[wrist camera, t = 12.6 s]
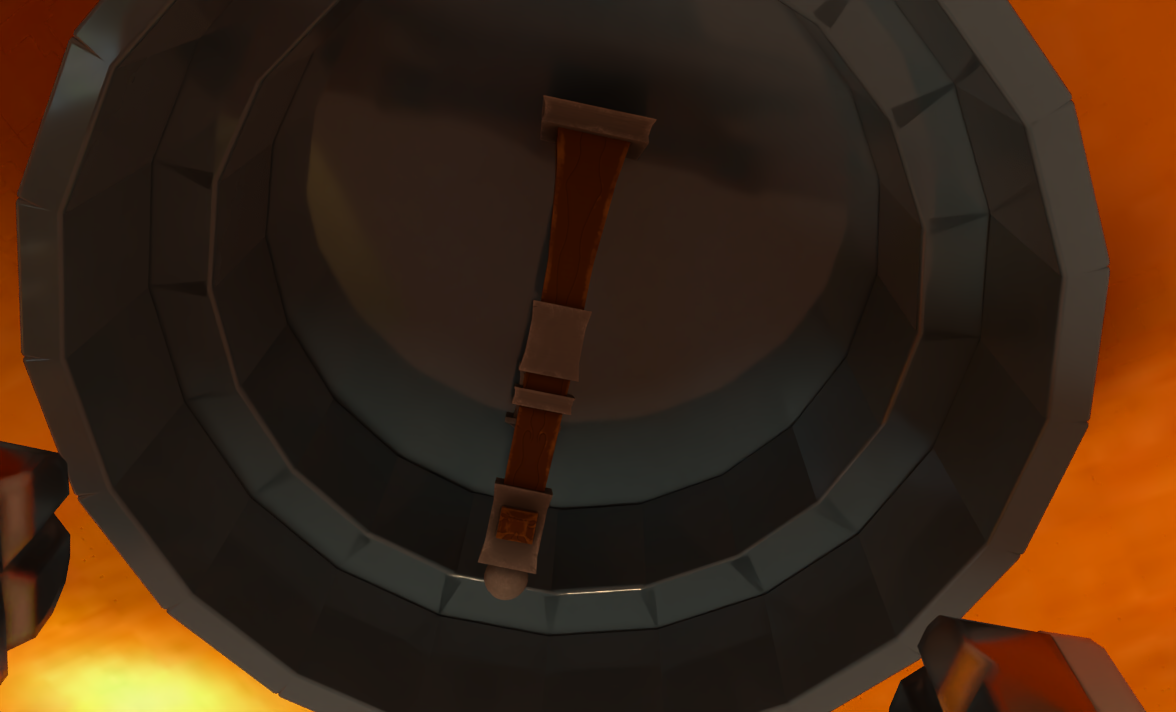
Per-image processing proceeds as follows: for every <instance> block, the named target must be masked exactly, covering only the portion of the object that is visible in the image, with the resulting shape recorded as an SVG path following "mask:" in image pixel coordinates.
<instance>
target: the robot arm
mask: <svg viewBox="0 0 1176 712" xmlns="http://www.w3.org/2000/svg"><path fill="white" fill-rule="evenodd" d="M68 495H69V481H68V464H67V462H66V461H65V460H64V459H63V458H62V457H61V455H60V454H59V453H56V452H51V451H46V450H42V449H37V448H32V447H27V446H22V445H17V444H12V443H7V442H2V441H0V685H1V683H2V682H3V681H4V679H5V678H6V677H7V675H8V665H7V651H8V650H10V649H12V648H14V647H16V646H18V645H21V644H23V643H25V642H27V641H29V640H31V639H33V638H35V637H36V636H37V635H38V633H39V632H40V630H41V629H42V627H43V626H44V625H45V623H46V622H47V620H48V619H49V617H50V616H51V615H52V613H53V611H54V608H55V606H56V604H57V601H58V599H59V596H60V594H61V592H62V589H63V587H64V584H65V582H66V576H67V571H68V565H69V560H70V534H69V533H68V531H67V530H66V529H65V527H64V526H63V525H62V523H61V522H60V521H59V519H58V518H57V517H56V516H55V514H54V512H55V510H56V509H57V508H58V507H59V506H60V504H61V503H62V502H63V501H64V500H65V498H66V497H67V496H68ZM917 647H918V650H919V653H920V655H921V658H922V661H923V664H924V666H923V667H922V668H920V669H918V670H917V671H915V672H914V673H912V674H910V675H909V676H907V677H906V678H904V679H902V680H901V681H900V683H899V686H898V688H897V691H896V693H895V695H894V698H893V700H892V702H891V705H890V707H889V712H1146V711H1145V710H1144V708H1143V707H1142V705H1141V704H1140V702H1139V701H1138V699H1137V698H1136V696H1135V695H1134V693H1133V692H1132V690H1131V689H1130V687H1129V686H1128V684H1127V682H1126V681H1125V679H1124V678H1123V676H1122V675H1121V673H1120V672H1119V670H1118V669H1117V667H1116V666H1115V664H1114V663H1113V661H1112V660H1111V658H1110V657H1109V655H1108V654H1107V652H1106V651H1105V649H1104V648H1103V647H1101V646H1100V645H1098V644H1097V643H1096V642H1094V641H1093V640H1091V639H1090V638H1084V637H1077V636H1071V635H1064V634H1058V633H1051V632H1045V631H1038V632H1034V631H1028V630H1022V629H1017V628H1011V627H1005V626H1000V625H994V624H988V623H983V622H977V621H971V620H966V619H960V618H954V617H949V616H943V615H938V616H937V617H936V618H935V619H934V620H933V621H932V622H931V623H930V624H929V625H928V626H927V627H926V629H925V631H924V633H923V635H922V637H921V639H920V641H919V643H918V645H917Z"/></svg>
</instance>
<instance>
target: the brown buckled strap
mask: <svg viewBox="0 0 1176 712" xmlns="http://www.w3.org/2000/svg"><path fill="white" fill-rule="evenodd" d="M656 120H657V119H653V118H648V117H643V116H639V115H634V114H629V113H625V112H620V111H615V110H611V109H606V108H601V107H597V106H592V105H587V104H583V103H578V102H573V101H569V100H564V99H559V98H555V97H550V96H545V95H543V107H542V120H541V133H540V140H543V141H548V142H552V143H556V151H555V186H554V197H553V208H552V218H551V229H550V240H549V250H548V261H547V267H546V272H545V278H544V284H543V290H542V296H541V301H536V300H533V310H532V321H531V326H530V330H529V335H528V340H527V344H526V349H525V352H524V355H523V358H522V360H521V362H519V367H518V368H519V370H520V384H515V395H514V397H513V400H512V404H516V408H515V411H514V413H512V412H507V413H506V417H505V422H506V423H508V424H510V425H511V426H512V427H514V428H515V429H514V434H513V439H512V444H511V449H510V455H509V460H508V464H507V469H506V474H505V478H498V477H497V478H496V481H495V487H494V501H493V505H492V510H491V515H490V519H489V524H488V529H487V533H486V538H485V542H484V544H483V547H482V550H481V552H480V556H479V559H478V562H479V563H484V564H489V565H488V566H487V568H486V570H485V573H484V582H485V586H486V588H487V590H488V591H489V592H490V593H491V594H492V596H494V597H496V598H497V599H500V600H511V599H514V598H516V597H517V596H519V595H520V594H521V593H522V592H523V591H524V589H525V588H526V585H527V582H528V573H533V574H536V568H537V555H538V551H539V546H540V541H541V537H542V532H543V527H544V523H545V518H546V513H547V509H548V507H549V504H550V502H551V499H552V496H553V493H552V489H551V488H546V483H547V479H548V475H549V470H550V466H551V462H552V458H553V453H554V449H555V445H556V441H557V436H558V432H560V430H561V426H560V423H561V419H562V415H563V414H567V415H571V407H572V404H573V401H574V400H575V397H574V396H573V395H571V394H567V393H568V389H569V384H570V380H572V381H577V382H579V361H580V356H581V351H582V346H583V340H584V335H585V330H586V327H587V324H588V321H589V319H590V316H591V313H592V312H591V311H586V310H584V308H585V303H586V298H587V293H588V288H589V283H590V278H591V273H592V268H593V264H594V261H595V257H596V254H597V250H598V246H599V243H600V239H601V236H602V232H603V229H604V225H605V221H606V218H607V214H608V211H609V207H610V203H611V200H612V196H613V193H614V189H615V185H616V182H617V180H618V177H619V174H620V171H621V168H622V165H623V163H624V160H625V158H628V159H633V160H638V158H639V157H640V155H641V154H642V152H643V151H644V149H645V148H646V147H647V145H648V144H649V134H650V130H651V128H652V126H653V125H654V123H655V122H656Z"/></svg>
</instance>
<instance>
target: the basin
mask: <svg viewBox="0 0 1176 712" xmlns="http://www.w3.org/2000/svg"><path fill="white" fill-rule="evenodd" d="M73 35H74V36H72V37H71V38H70V39H69V41H68V44H67V47H66V50H65V53H64V56H63V59H62V62H61V65H60V68H59V71H58V74H57V77H56V80H55V83H54V86H53V89H52V92H51V95H50V98H49V101H48V104H47V107H46V110H45V112H44V115H43V118H42V121H41V124H40V127H39V130H38V133H37V136H36V139H35V142H34V145H33V148H32V151H31V154H30V157H29V160H28V163H27V166H26V169H25V172H24V175H23V178H22V181H21V184H20V187H19V190H18V193H17V196H18V197H19V198H18V199H17V201H16V221H17V249H18V276H19V303H20V330H21V353H22V355H23V356H24V358H23V362H24V364H25V367H26V370H27V372H28V375H29V377H30V380H31V383H32V385H33V388H34V390H35V393H36V396H37V398H38V401H39V403H40V406H41V409H42V411H43V414H44V416H45V419H46V422H47V424H48V427H49V429H50V432H51V435H52V437H53V440H54V442H55V445H56V448H57V450H58V453H59V454H60V455H61V457H62V458H63V459H64V460H65V461H66V462H67V464H68V479H69V481H70V484H71V487H72V489H73V492H74V494H75V495H77V496H78V501H79V502H80V503H81V505H82V506H83V507H84V509H85V510H86V511H87V512H88V514H89V515H90V516H91V518H92V519H93V520H94V521H95V523H96V524H97V525H98V527H99V528H100V529H101V530H102V532H103V533H104V534H105V536H106V537H107V538H108V539H109V541H110V542H111V543H112V544H113V546H114V547H115V548H116V550H117V551H118V552H119V553H120V555H121V556H122V557H123V559H124V560H125V561H126V562H127V564H128V565H129V566H130V568H131V569H132V570H133V571H134V573H135V574H136V575H137V577H138V578H139V579H140V580H141V582H142V583H143V584H144V586H145V587H146V588H147V589H148V591H149V592H150V593H151V594H152V596H153V597H154V598H155V600H156V601H157V602H158V603H159V605H160V606H161V607H162V608H163V609H167V613H168V614H169V615H170V616H172V617H173V618H174V619H176V620H177V621H178V622H180V623H181V624H182V625H184V626H185V627H186V628H188V629H189V630H190V631H192V632H193V633H194V634H196V635H197V636H198V637H200V638H201V639H202V640H204V641H205V642H206V643H208V644H209V645H210V646H212V647H213V648H214V649H216V650H217V651H218V652H220V653H221V654H222V655H224V656H225V657H226V658H228V659H229V660H230V661H232V662H233V663H234V664H236V665H237V666H238V667H240V668H241V669H242V670H244V671H245V672H246V673H248V674H249V675H250V676H252V677H253V678H254V679H256V680H257V681H258V682H260V683H261V684H262V685H263V686H265V687H266V688H267V689H269V690H270V691H271V692H273V693H275V694H277V693H279V696H280V697H281V698H283V699H286V700H288V701H290V702H293V703H295V704H297V705H300V706H302V707H304V708H307V709H309V710H312V711H314V712H831V711H833V710H834V709H836V708H838V707H840V706H841V705H843V704H845V703H846V702H848V701H850V700H851V699H853V698H855V697H857V696H858V695H860V694H862V693H863V692H865V691H867V690H868V689H870V688H872V687H874V686H875V685H877V684H879V683H880V682H882V681H884V680H885V679H887V678H889V677H891V676H892V675H894V674H896V673H897V672H899V671H901V670H903V669H904V668H906V667H908V666H909V665H911V664H913V663H914V662H916V661H918V660H919V659H920V658H921V655H920V653H919V650H918V647H917V645H918V643H919V641H920V639H921V637H922V635H923V633H924V631H925V629H926V627H927V626H928V625H929V624H930V623H931V622H932V621H933V620H934V619H935V618H936V617H937V616H938V615H943V616H949V617H954V618H960V619H961V618H962V617H963V616H964V615H965V614H966V613H967V612H968V611H969V610H970V609H971V608H972V607H973V606H974V605H975V604H976V603H977V601H978V600H979V599H980V598H981V597H982V596H983V595H984V594H985V593H986V592H987V591H988V590H989V589H990V588H991V587H992V586H993V585H994V584H995V583H996V582H997V581H998V580H999V579H1000V578H1001V577H1002V576H1003V575H1004V574H1005V573H1006V572H1007V571H1008V570H1009V568H1010V567H1011V566H1012V565H1013V564H1014V563H1015V562H1016V561H1017V560H1018V559H1019V558H1020V554H1023V553H1024V552H1025V550H1026V548H1027V546H1028V544H1029V542H1030V540H1031V538H1032V536H1033V534H1034V532H1035V530H1036V529H1037V527H1038V525H1039V523H1040V521H1041V519H1042V517H1043V515H1044V513H1045V511H1046V509H1047V507H1048V505H1049V503H1050V501H1051V499H1052V497H1053V495H1054V493H1055V491H1056V489H1057V487H1058V485H1059V483H1060V481H1061V479H1062V477H1063V475H1064V473H1065V471H1066V469H1067V467H1068V466H1069V464H1070V462H1071V460H1072V458H1073V456H1074V454H1075V452H1076V450H1077V448H1078V446H1079V444H1080V442H1081V440H1082V438H1083V436H1084V434H1085V432H1086V430H1087V428H1088V422H1087V421H1089V419H1090V414H1091V407H1092V400H1093V392H1094V385H1095V378H1096V371H1097V363H1098V356H1099V349H1100V342H1101V334H1102V327H1103V320H1104V312H1105V305H1106V298H1107V291H1108V283H1109V276H1110V269H1109V267H1108V265H1109V263H1110V260H1109V255H1108V251H1107V246H1106V242H1105V237H1104V233H1103V229H1102V224H1101V220H1100V215H1099V211H1098V206H1097V202H1096V198H1095V193H1094V189H1093V184H1092V180H1091V175H1090V171H1089V167H1088V162H1087V158H1086V153H1085V149H1084V144H1083V140H1082V136H1081V131H1080V127H1079V122H1078V118H1077V113H1076V109H1075V105H1074V102H1073V101H1072V100H1071V99H1072V96H1071V93H1070V92H1069V90H1068V89H1067V87H1066V86H1065V84H1064V83H1063V81H1062V80H1061V78H1060V77H1059V75H1058V74H1057V72H1056V71H1055V69H1054V68H1053V66H1052V65H1051V63H1050V62H1049V60H1048V59H1047V57H1046V56H1045V54H1044V53H1043V52H1042V50H1041V49H1040V47H1039V46H1038V44H1037V43H1036V41H1035V40H1034V38H1033V37H1032V35H1031V34H1030V32H1029V31H1028V29H1027V28H1026V26H1025V25H1024V23H1023V22H1022V20H1021V19H1020V17H1019V16H1018V14H1017V13H1016V11H1015V10H1014V8H1013V7H1012V5H1011V4H1010V2H1009V1H1008V0H99V1H98V3H97V4H96V5H95V6H94V7H93V8H92V10H91V11H90V12H89V13H88V14H87V16H86V17H85V18H84V19H83V20H82V21H81V23H80V24H79V25H78V26H77V27H76V28H75V30H74V33H73ZM543 95H545V96H550V97H555V98H559V99H564V100H569V101H573V102H578V103H583V104H587V105H592V106H597V107H601V108H606V109H611V110H615V111H620V112H625V113H629V114H634V115H639V116H643V117H648V118H653V119H657V120H656V122H655V123H654V125H653V126H652V128H651V130H650V134H649V144H648V145H647V147H646V148H645V149H644V151H643V152H642V154H641V155H640V157H639V158H638V160H633V159H628V158H625V160H624V163H623V165H622V168H621V171H620V174H619V177H618V180H617V182H616V185H615V189H614V193H613V196H612V200H611V203H610V207H609V211H608V214H607V218H606V221H605V225H604V229H603V232H602V236H601V239H600V243H599V246H598V250H597V254H596V257H595V261H594V264H593V268H592V273H591V278H590V283H589V288H588V293H587V298H586V303H585V308H584V310H586V311H591V312H592V313H591V316H590V319H589V321H588V324H587V327H586V330H585V335H584V340H583V346H582V351H581V356H580V361H579V382H577V381H572V380H570V384H569V389H568V393H567V394H571V395H573V396H574V397H575V400H574V401H573V404H572V407H571V415H567V414H563V415H562V419H561V423H560V426H561V430H560V432H558V436H557V441H556V445H555V449H554V453H553V458H552V462H551V466H550V470H549V475H548V479H547V483H546V488H551V489H552V493H553V496H552V499H551V502H550V504H549V507H548V509H547V513H546V518H545V523H544V527H543V532H542V537H541V541H540V546H539V551H538V555H537V568H536V574H533V573H528V582H527V585H526V588H525V589H524V591H523V592H522V593H521V594H520V595H519V596H517V597H516V598H514V599H511V600H500V599H497V598H496V597H494V596H492V594H491V593H490V592H489V591H488V590H487V588H486V586H485V582H484V573H485V570H486V568H487V566H488V565H489V564H484V563H479V562H478V559H479V556H480V552H481V550H482V547H483V544H484V542H485V538H486V533H487V529H488V524H489V519H490V515H491V510H492V505H493V501H494V487H495V481H496V478H497V477H498V478H505V474H506V469H507V464H508V460H509V455H510V449H511V444H512V439H513V434H514V429H515V428H514V427H512V426H511V425H510V424H508V423H506V422H505V417H506V413H507V412H512V413H514V411H515V408H516V404H512V400H513V397H514V395H515V384H520V370H519V368H518V367H519V362H521V360H522V358H523V355H524V352H525V349H526V344H527V340H528V335H529V330H530V326H531V321H532V310H533V300H536V301H541V296H542V290H543V284H544V278H545V272H546V267H547V261H548V250H549V240H550V229H551V218H552V208H553V197H554V186H555V151H556V143H552V142H548V141H543V140H540V133H541V120H542V107H543Z"/></svg>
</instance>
